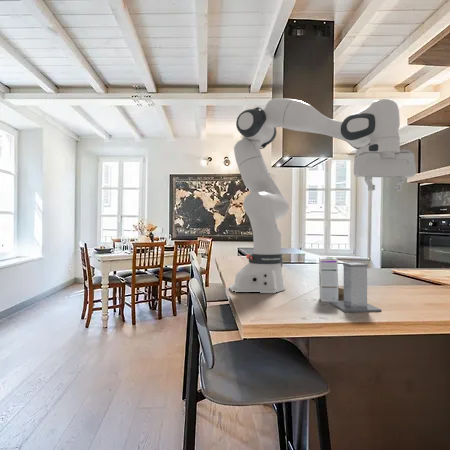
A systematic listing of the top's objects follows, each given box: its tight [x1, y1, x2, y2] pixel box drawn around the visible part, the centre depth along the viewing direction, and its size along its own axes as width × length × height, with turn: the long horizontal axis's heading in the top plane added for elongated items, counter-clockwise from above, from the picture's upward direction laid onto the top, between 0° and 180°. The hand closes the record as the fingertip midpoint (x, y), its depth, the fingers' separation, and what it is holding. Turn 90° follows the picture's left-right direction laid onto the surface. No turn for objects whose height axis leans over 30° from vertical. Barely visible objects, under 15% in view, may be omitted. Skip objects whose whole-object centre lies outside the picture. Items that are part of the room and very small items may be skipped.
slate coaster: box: [329, 300, 382, 314], centre depth 100 cm, size 11×11×1 cm
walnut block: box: [338, 285, 344, 301], centre depth 114 cm, size 5×5×4 cm
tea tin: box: [342, 262, 368, 308], centre depth 100 cm, size 5×5×13 cm
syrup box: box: [318, 256, 339, 303], centre depth 110 cm, size 6×6×14 cm
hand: (384, 190), depth 108 cm, fingers open, 8 cm apart
